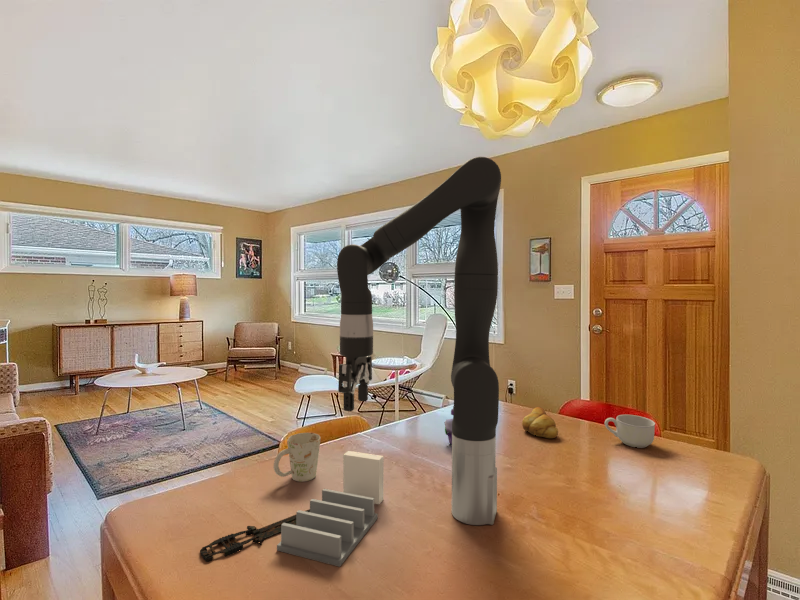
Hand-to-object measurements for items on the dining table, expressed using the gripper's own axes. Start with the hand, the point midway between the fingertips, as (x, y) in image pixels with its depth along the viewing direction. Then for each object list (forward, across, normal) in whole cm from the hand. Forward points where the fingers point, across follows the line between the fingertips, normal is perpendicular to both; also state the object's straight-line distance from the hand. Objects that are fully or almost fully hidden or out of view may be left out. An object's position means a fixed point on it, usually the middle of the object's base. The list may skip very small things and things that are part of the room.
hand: (356, 405), depth 93 cm
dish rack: (+22, -13, 0) cm, 26 cm away
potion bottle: (+22, +42, -17) cm, 51 cm away
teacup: (+22, +58, -70) cm, 93 cm away
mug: (+22, +6, +18) cm, 29 cm away
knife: (+22, -16, +12) cm, 30 cm away
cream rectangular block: (+22, +2, -1) cm, 22 cm away
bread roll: (+22, +60, -43) cm, 77 cm away
